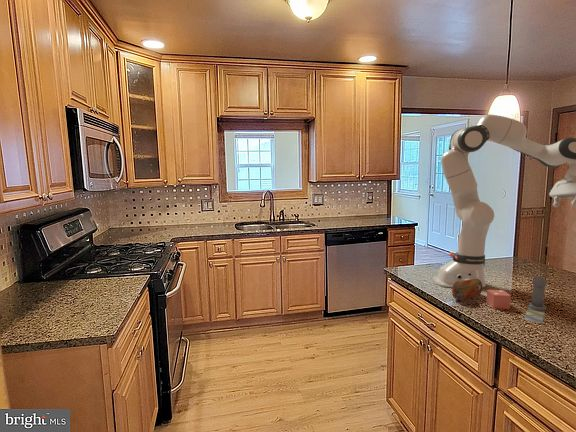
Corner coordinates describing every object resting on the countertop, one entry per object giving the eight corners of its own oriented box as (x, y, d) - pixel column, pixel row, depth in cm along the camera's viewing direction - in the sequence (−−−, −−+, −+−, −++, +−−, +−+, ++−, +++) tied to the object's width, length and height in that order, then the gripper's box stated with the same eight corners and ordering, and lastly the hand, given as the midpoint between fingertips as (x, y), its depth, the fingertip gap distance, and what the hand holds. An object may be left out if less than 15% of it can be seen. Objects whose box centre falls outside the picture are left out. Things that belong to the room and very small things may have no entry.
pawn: (533, 310, 130) (536, 278, 129) (525, 305, 136) (528, 274, 134) (548, 311, 130) (551, 279, 128) (540, 305, 135) (543, 274, 133)
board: (519, 303, 139) (519, 301, 139) (556, 311, 132) (557, 309, 132) (512, 319, 125) (512, 317, 125) (554, 329, 117) (554, 327, 117)
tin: (456, 302, 141) (457, 282, 140) (449, 300, 144) (451, 280, 142) (482, 297, 147) (483, 277, 146) (475, 294, 150) (477, 275, 148)
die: (492, 310, 133) (494, 294, 132) (486, 304, 139) (487, 289, 138) (509, 310, 132) (511, 295, 132) (502, 304, 138) (503, 290, 137)
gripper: (553, 176, 156) (539, 203, 156) (592, 169, 136) (576, 201, 136) (566, 182, 156) (552, 210, 156) (607, 176, 136) (591, 208, 136)
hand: (564, 206), depth 146 cm, fingers open, 8 cm apart
